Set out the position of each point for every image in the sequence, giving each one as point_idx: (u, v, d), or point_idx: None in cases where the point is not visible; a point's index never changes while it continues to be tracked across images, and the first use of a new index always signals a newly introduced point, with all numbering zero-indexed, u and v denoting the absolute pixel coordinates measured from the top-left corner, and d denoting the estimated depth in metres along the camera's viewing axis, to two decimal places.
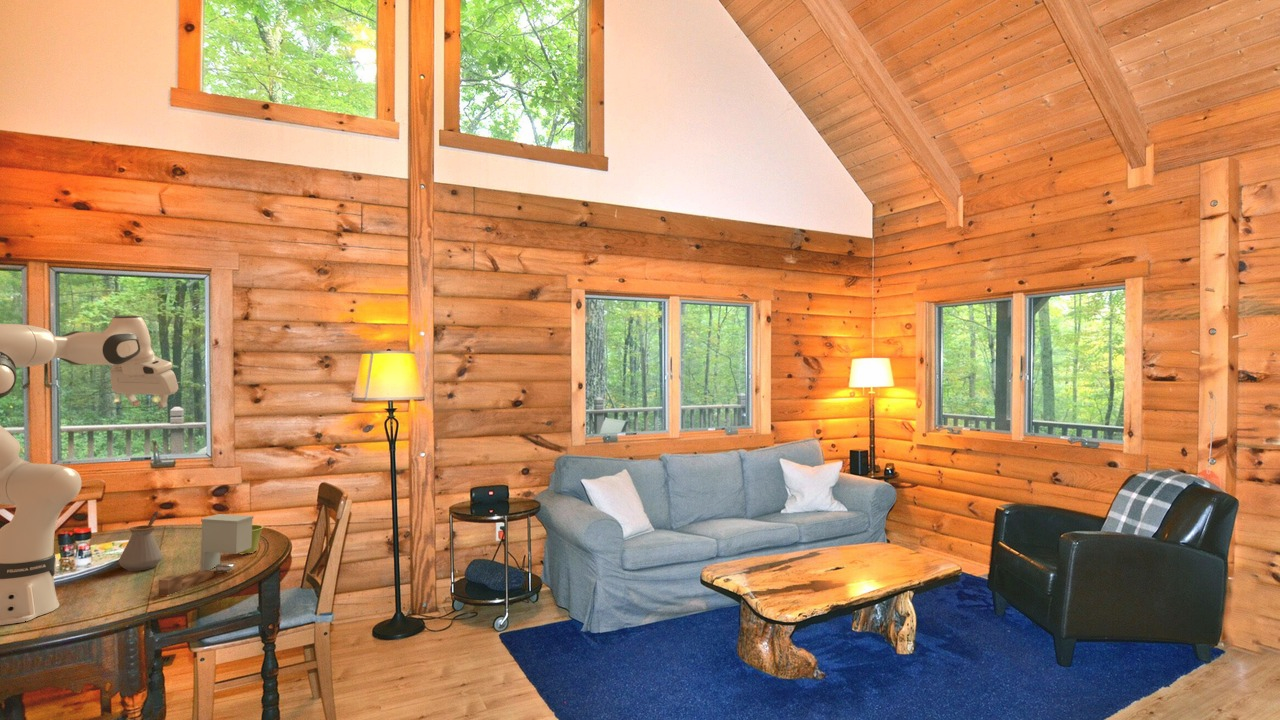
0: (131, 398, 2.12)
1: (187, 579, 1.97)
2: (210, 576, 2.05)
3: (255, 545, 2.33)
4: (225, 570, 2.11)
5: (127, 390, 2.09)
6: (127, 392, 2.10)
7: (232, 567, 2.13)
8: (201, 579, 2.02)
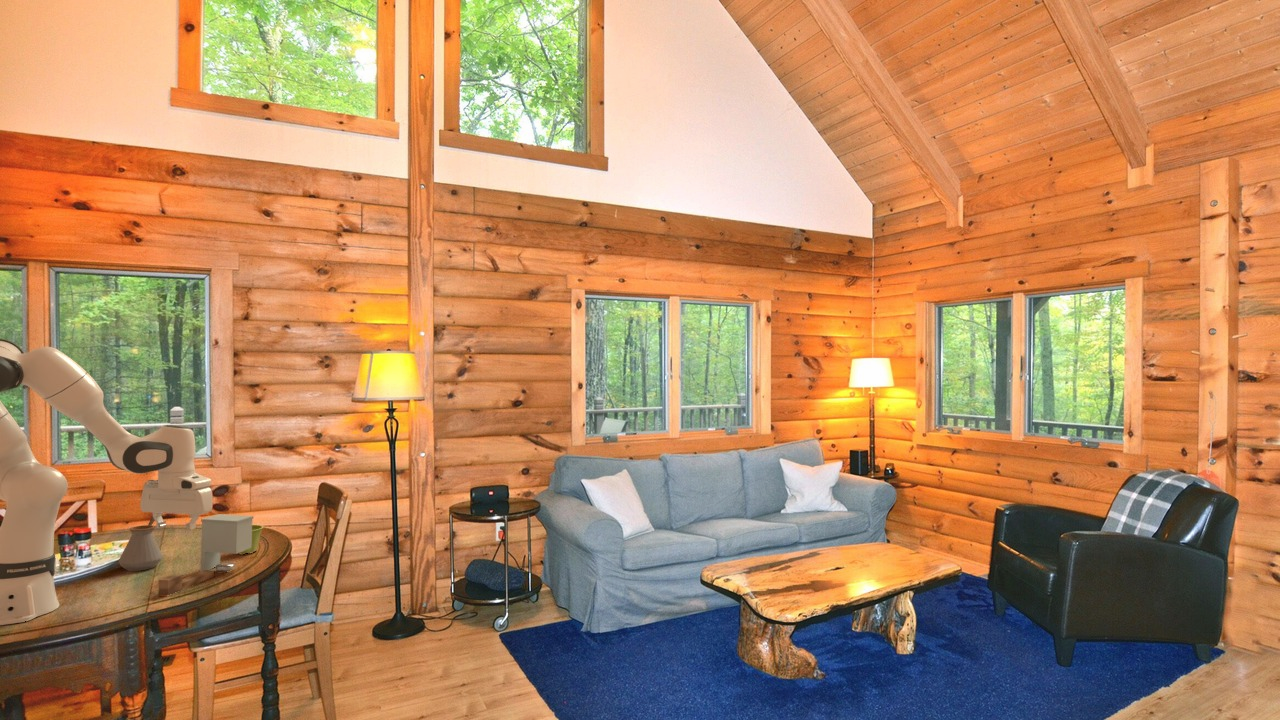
0: (158, 518, 1.93)
1: (187, 579, 1.97)
2: (210, 576, 2.05)
3: (255, 545, 2.33)
4: (225, 570, 2.11)
5: (156, 508, 1.92)
6: (156, 510, 1.92)
7: (232, 567, 2.13)
8: (201, 579, 2.02)
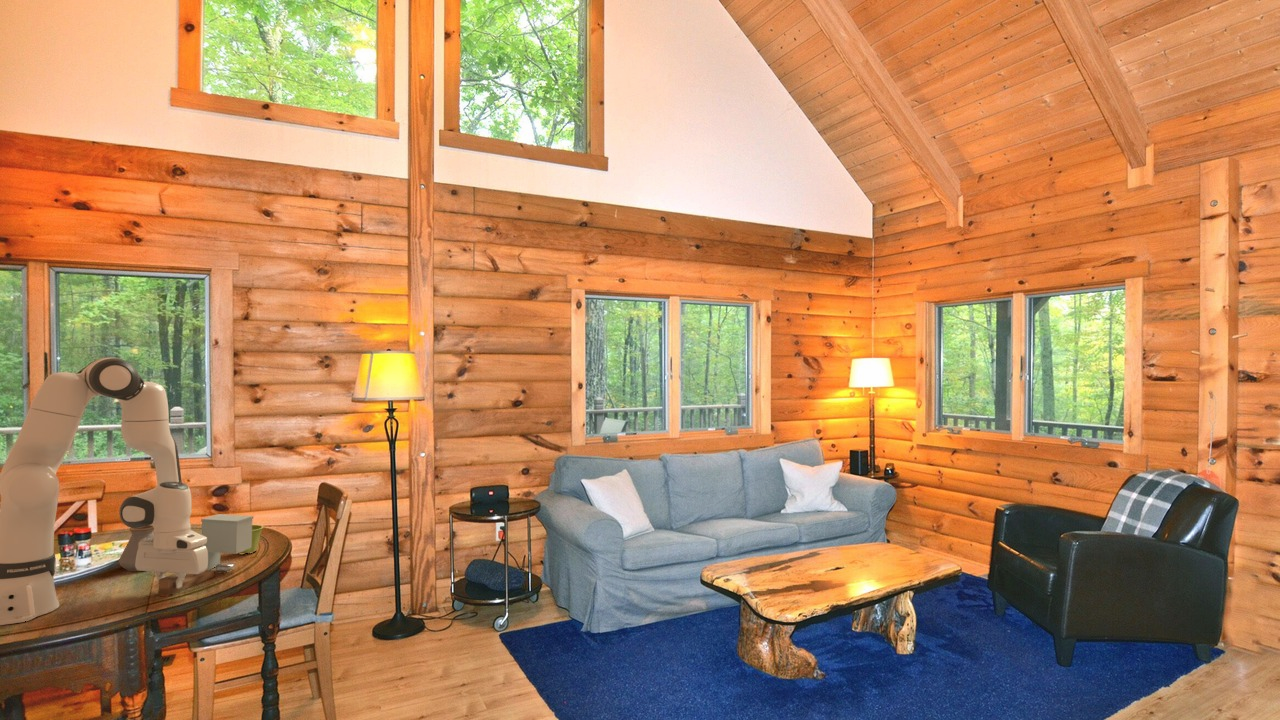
0: (160, 577, 1.92)
1: (187, 579, 1.97)
2: (210, 576, 2.05)
3: (255, 545, 2.33)
4: (225, 570, 2.11)
5: (151, 567, 1.91)
6: (150, 569, 1.91)
7: (232, 567, 2.13)
8: (201, 578, 2.02)
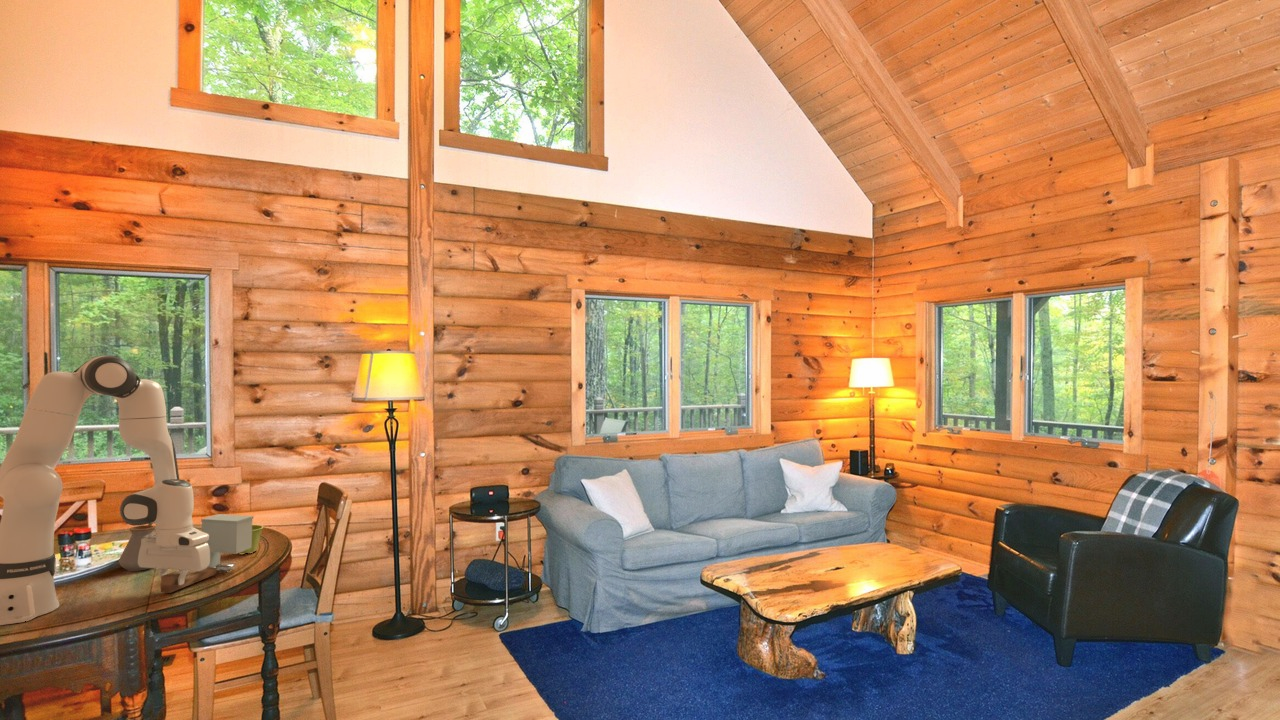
0: (163, 574, 1.92)
1: (189, 576, 1.98)
2: (212, 573, 2.06)
3: (255, 545, 2.33)
4: (225, 570, 2.11)
5: (153, 564, 1.91)
6: (153, 566, 1.91)
7: (232, 567, 2.13)
8: (203, 575, 2.02)
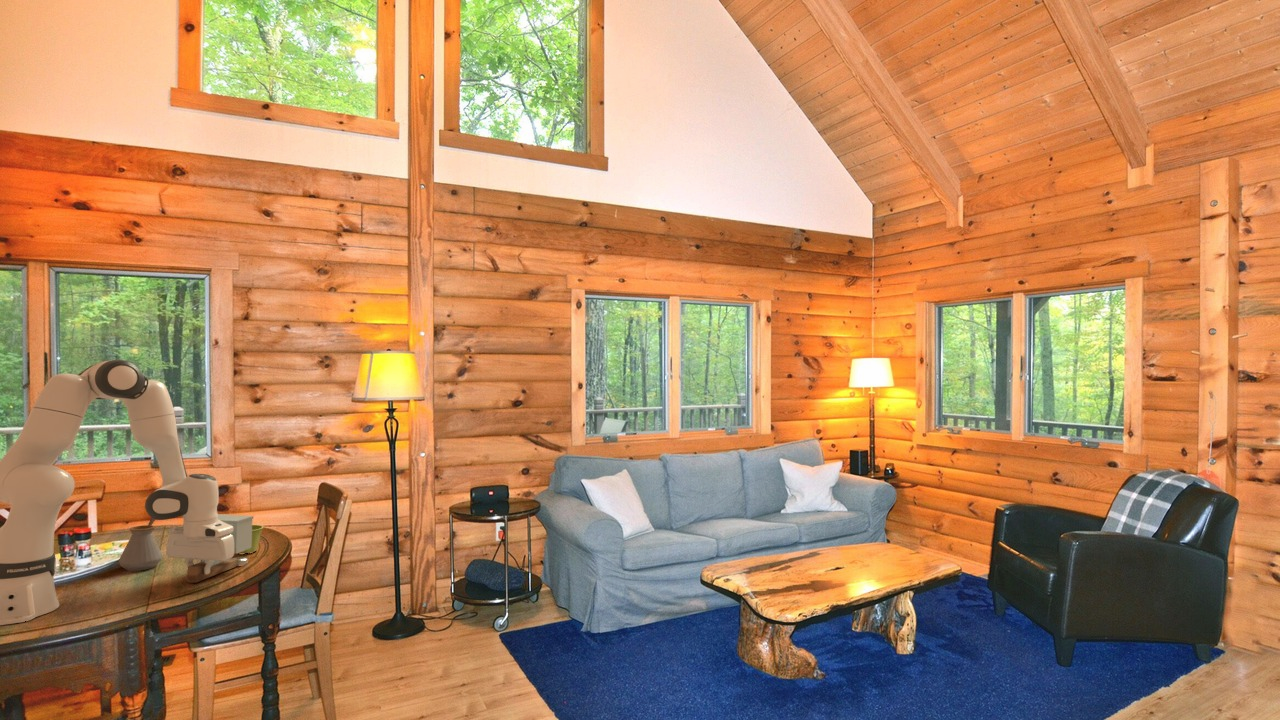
0: (189, 564, 2.02)
1: (214, 567, 2.08)
2: (235, 565, 2.15)
3: (255, 545, 2.33)
4: (239, 564, 2.17)
5: (181, 554, 2.01)
6: (180, 556, 2.01)
7: (245, 561, 2.19)
8: (227, 567, 2.12)
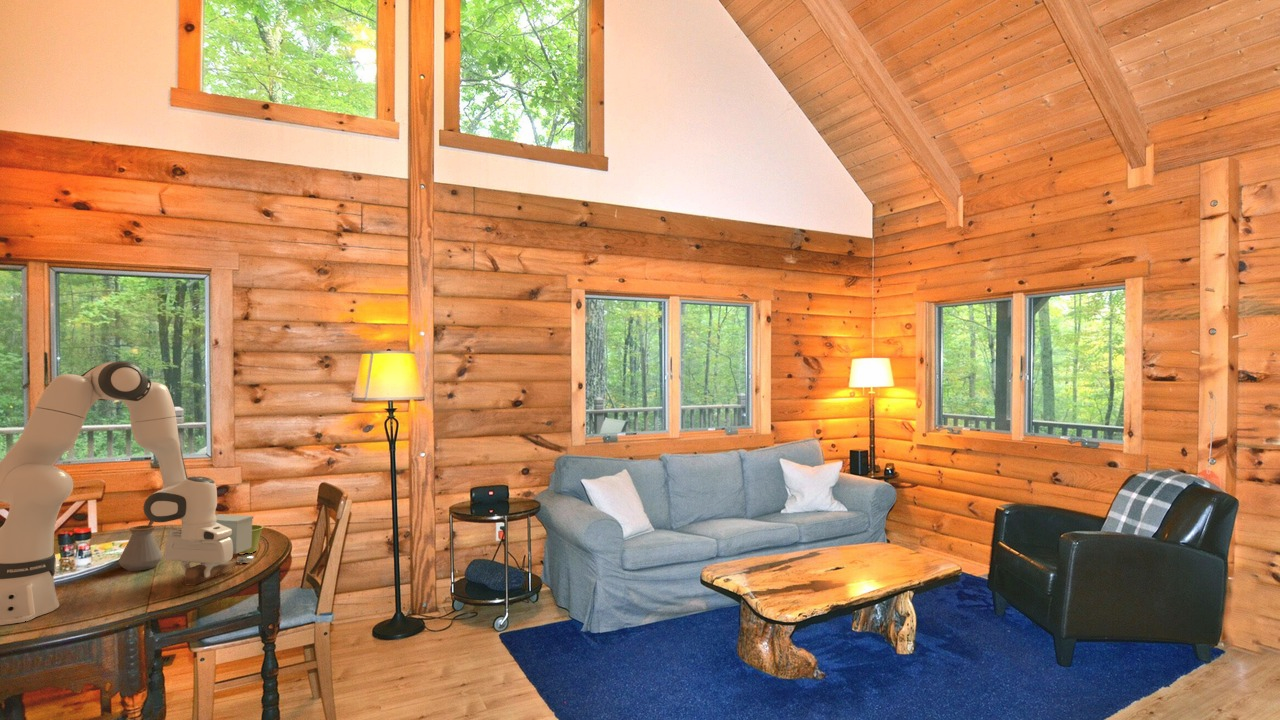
0: (186, 567, 2.02)
1: (211, 570, 2.07)
2: (232, 567, 2.15)
3: (255, 545, 2.33)
4: (245, 562, 2.20)
5: (179, 557, 2.01)
6: (178, 559, 2.01)
7: (252, 559, 2.22)
8: (224, 569, 2.11)
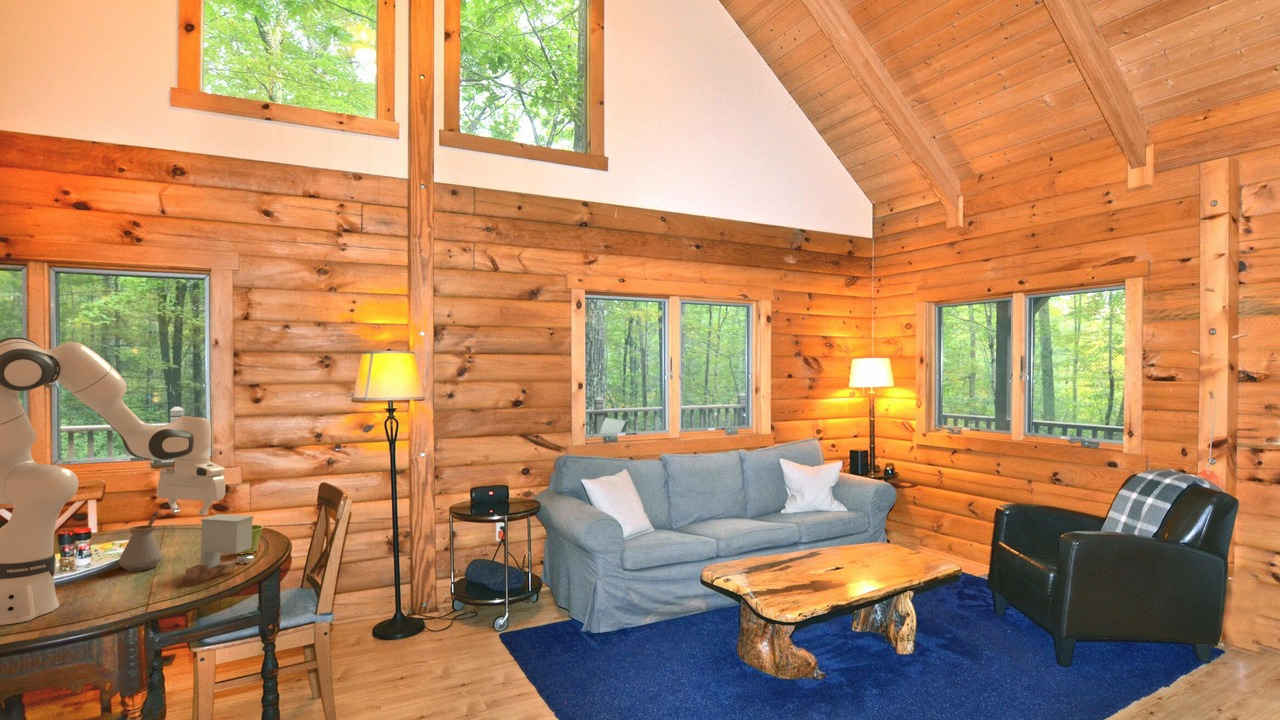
0: (172, 504, 2.02)
1: (211, 570, 2.07)
2: (232, 567, 2.15)
3: (255, 545, 2.33)
4: (245, 561, 2.20)
5: (172, 494, 2.01)
6: (171, 496, 2.01)
7: (252, 559, 2.22)
8: (224, 569, 2.11)
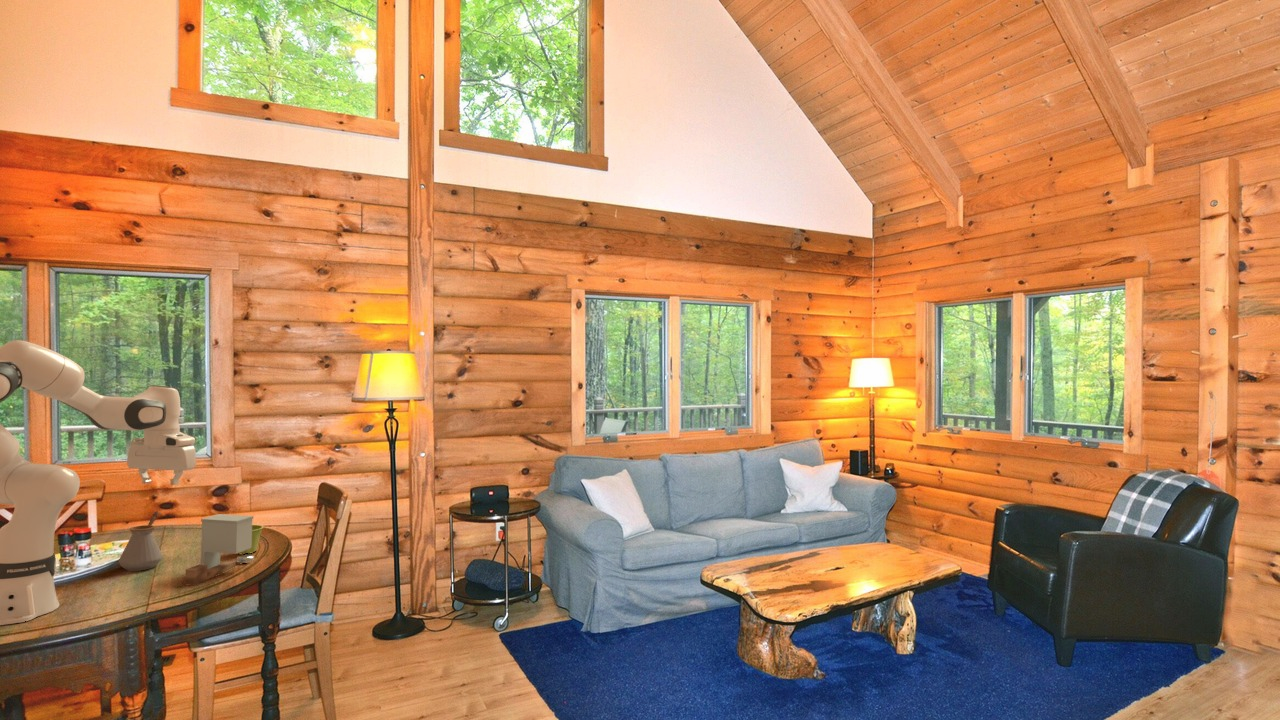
0: (143, 474, 2.03)
1: (211, 570, 2.07)
2: (232, 567, 2.15)
3: (255, 545, 2.33)
4: (245, 561, 2.20)
5: (142, 464, 2.02)
6: (141, 466, 2.02)
7: (252, 559, 2.22)
8: (224, 569, 2.11)
